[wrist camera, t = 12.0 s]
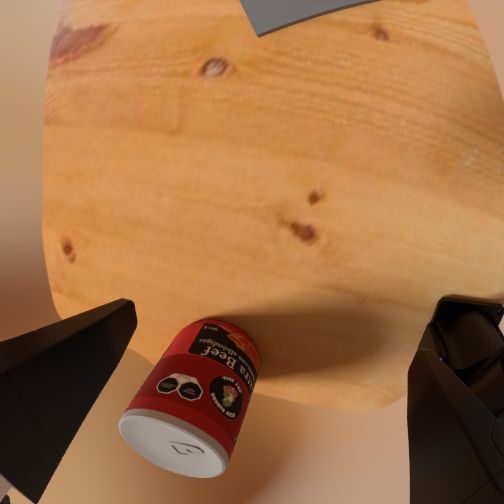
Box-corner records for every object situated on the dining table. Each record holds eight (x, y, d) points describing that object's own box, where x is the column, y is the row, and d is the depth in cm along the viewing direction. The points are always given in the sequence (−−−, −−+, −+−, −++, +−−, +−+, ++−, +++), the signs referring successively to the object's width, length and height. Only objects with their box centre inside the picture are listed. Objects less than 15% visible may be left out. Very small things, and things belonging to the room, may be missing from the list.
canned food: (279, 366, 27) (249, 475, 17) (214, 390, 30) (173, 480, 20) (224, 301, 25) (163, 406, 15) (162, 335, 29) (99, 422, 19)
